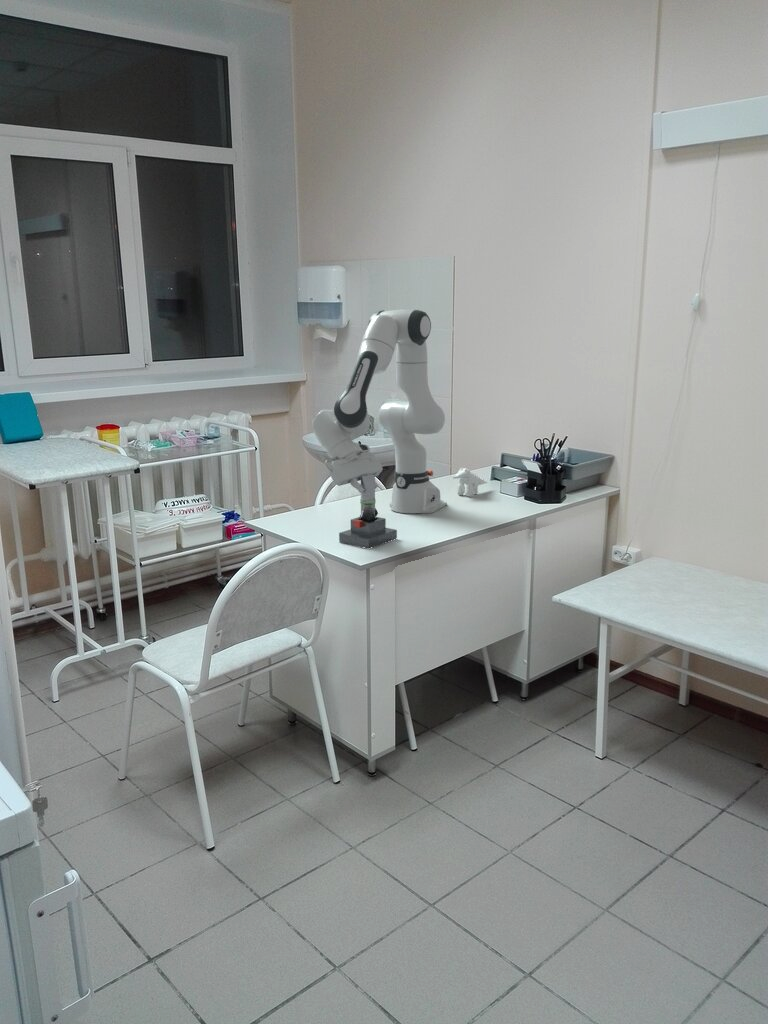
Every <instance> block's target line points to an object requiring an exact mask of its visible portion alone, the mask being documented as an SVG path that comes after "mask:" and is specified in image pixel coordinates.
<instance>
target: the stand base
mask: <svg viewBox="0 0 768 1024" xmlns="http://www.w3.org/2000/svg"><path fill="white" fill-rule="evenodd" d="M386 522H387V521H386V518H385V517H379V516H376V517H375V519H374V520H362V519H361V517H360V516H358V517H355V518H351V519H350V529H347V530H344V531H341V532H338V540H339V542H338V543H342V544H345V543H346V544H345V545H350V544H351V546H354V545H355V547H358V546H360V548H363V547H365V548H364V549H367V548H370V549H372V548H371V547H373V548H374V546H376V547H378V546H380V544H381V545H384V544H386V543H385V542H387V543H389V542H388V541H390V542H392V541H395V540H397V539H396V538H398V530H397V529H395V528H390V527H386V524H387V523H386ZM394 539H395V540H394ZM391 540H392V541H391ZM383 543H384V544H383ZM377 545H378V546H377Z"/></svg>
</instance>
